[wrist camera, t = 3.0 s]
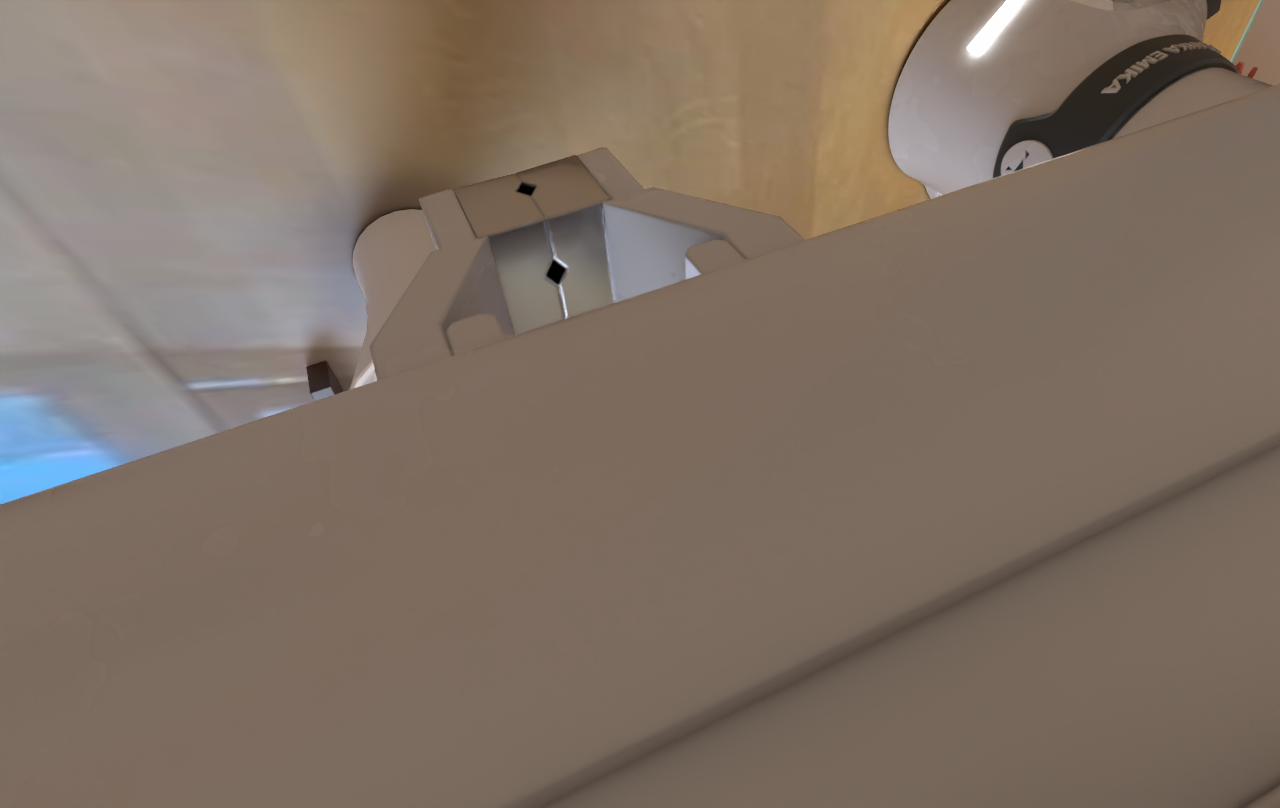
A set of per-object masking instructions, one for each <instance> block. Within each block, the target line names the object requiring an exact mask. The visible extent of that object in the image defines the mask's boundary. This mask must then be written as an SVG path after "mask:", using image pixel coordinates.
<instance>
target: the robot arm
mask: <svg viewBox="0 0 1280 808" xmlns="http://www.w3.org/2000/svg"><path fill="white" fill-rule="evenodd" d="M1220 4H1221V0H950V1H949V2H948V3H947V5H946V6H945V7H944V8H943V9H942V10H941V11H940V12H939V13H938V15H937V16H936V17H935V18H934V19H933V21H932V22H931V23H930V25H929V26H928V27H927V29H926V30H925V31H924V33H923V34H922V36H921V37H920V39H919V40H918V42H917V44H916V45H915V47H914V49H913V50H912V52H911V54H910V56H909V58H908V60H907V62H906V64H905V66H904V68H903V70H902V73H901V75H900V77H899V80H898V83H897V86H896V89H895V92H894V95H893V99H892V103H891V108H890V114H889V122H888V138H889V145H890V150H891V153H892V156H893V159H894V161H895V162H896V164H897V166H898V167H899V168H900V169H901V170H902V171H903V172H904V173H905V174H906V175H908V176H909V177H911V178H913V179H915V180H918V181H919V182H921V183H922V184H923V185H925V188H926V190H927V193H928V195H929V197H930V199H929V200H926V201H923V202H920V203H917V204H914V205H911V206H908V207H905V208H902V209H899V210H896V211H893V212H889V213H886V214H883V215H880V216H877V217H874V218H871V219H868V220H865V221H862V222H859V223H856V224H853V225H850V226H847V227H844V228H841V229H838V230H835V231H832V232H829V233H826V234H823V235H820V236H817V237H813V238H810V239H807V240H805V239H804V238H803V237H802V236H801V235H800V234H798V233H797V232H796V231H795V230H794V229H793V228H792V227H791V226H790V225H788V224H787V223H786V222H785V221H784V220H783V219H782V218H781V217H778V216H774V215H770V214H765V213H761V212H757V211H753V210H748V209H744V208H740V207H736V206H731V205H727V204H723V203H719V202H714V201H710V200H706V199H701V198H697V197H693V196H689V195H684V194H680V193H676V192H672V191H667V190H663V189H659V188H654V187H652V188H649V189H644V188H643V187H642V186H641V185H640V184H639V183H638V182H637V181H636V179H635V178H634V177H633V176H632V175H631V174H630V173H629V172H628V171H627V170H626V168H625V167H624V166H623V165H622V164H621V163H620V162H619V161H618V160H617V159H616V157H615V156H614V155H613V154H612V153H611V152H610V151H609V150H608V149H607V148H604V147H601V148H598V149H595V150H592V151H589V152H586V153H583V154H580V155H577V156H576V155H573V156H570V157H567V158H564V159H560V160H557V161H554V162H550V163H547V164H544V165H540V166H537V167H534V168H530V169H527V170H524V171H520V172H517V173H514V174H510V175H506V176H502V177H498V178H494V179H490V180H486V181H482V182H479V183H475V184H471V185H467V186H463V187H459V188H455V189H452V190H451V189H448V190H444V191H441V192H438V193H435V194H431V195H428V196H425V197H422V198H419V202H420V205H421V208H422V211H423V214H424V217H425V220H426V223H427V226H428V229H429V232H430V235H431V238H432V241H433V244H434V247H435V250H436V251H433V252H431V253H430V254H429V256H428V257H427V259H426V260H425V262H424V263H423V265H422V267H421V268H420V270H419V271H418V273H417V274H416V276H415V277H414V279H413V280H412V282H411V283H410V285H409V286H408V288H407V290H406V291H405V293H404V294H403V296H402V297H401V299H400V300H399V302H398V303H397V305H396V306H395V308H394V309H393V311H392V313H391V314H390V316H389V317H388V319H387V320H386V322H385V323H384V325H383V326H382V328H381V329H380V331H379V332H378V334H377V336H376V337H375V339H374V340H373V342H372V343H371V345H370V346H369V347H370V351H371V355H372V360H373V364H374V369H375V373H376V377H377V381H375V382H372V383H369V384H366V385H363V386H360V387H357V388H353V389H350V390H347V391H344V392H341V393H338V394H335V395H332V396H329V397H326V398H323V399H320V400H317V401H314V402H311V403H308V404H305V405H302V406H299V407H296V408H293V409H290V410H287V411H283V412H280V413H277V414H274V415H271V416H268V417H265V418H262V419H259V420H256V421H253V422H250V423H247V424H244V425H241V426H238V427H235V428H232V429H229V430H226V431H223V432H220V433H217V434H214V435H211V436H208V437H205V438H202V439H199V440H196V441H193V442H189V443H186V444H183V445H180V446H177V447H174V448H171V449H168V450H165V451H162V452H159V453H156V454H153V455H150V456H147V457H144V458H141V459H138V460H135V461H132V462H129V463H126V464H123V465H120V466H117V467H114V468H111V469H108V470H105V471H102V472H98V473H95V474H92V475H89V476H86V477H83V478H80V479H77V480H74V481H71V482H68V483H65V484H62V485H59V486H56V487H53V488H50V489H47V490H44V491H41V492H38V493H35V494H32V495H28V496H25V497H22V498H19V499H16V500H13V501H10V502H7V503H4V504H1V505H0V808H1280V84H1278V85H1274V86H1273V85H1270V84H1267V83H1264V82H1261V81H1258V80H1255V79H1252V78H1253V76H1254V75H1255V73H1256V71H1257V69H1258V68H1257V67H1254V68H1253V69H1252V70H1251V71H1250V73H1249V74H1248V76H1244V75H1241V73H1242V69H1243V65H1244V63H1243V62H1239V63H1238V64H1237V65H1236V66H1235V65H1234V64H1233V63H1231V62H1230V61H1229V60H1227V59H1226V58H1225V57H1223V56H1222V55H1220V53H1221V52H1220V51H1219V50H1217V49H1216V48H1214V47H1213V46H1211V45H1208V44H1206V43H1203V38H1204V32H1205V27H1206V20H1208V19H1209V18H1210V17H1211V16H1213V15H1214V14H1215V13H1217V12H1218V11H1219V10H1220Z"/></svg>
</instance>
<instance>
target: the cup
mask: <svg viewBox="0 0 1280 808" xmlns="http://www.w3.org/2000/svg"><path fill="white" fill-rule="evenodd" d="M433 251H436V250H435V247H434V244H433V241H432V238H431V235H430V232H429V229H428V226H427V223H426V220H425V217H424V214H423V211H422V210H415V209H408V210H401V211H395V212H392V213H390V214H387V215H385V216H382V217H380V218H378V219H377V220H376V221H374V222H373V223H372V224H370V225H369V226H368V227H367V228H366V229H365V230H364V232H363V233H362V234H361V235H360V237H359V238H358V240H357V243H356V245H355V248H354V251H353V268H354V272H355V276H356V278H357V281H358V283H359V285H360V287H361V290H362V292H363V294H364V296H365V303H366V310H367V332H366V336H365V339H364V343H363V346H362V350H361V354H360V357H359V361H358V364H357V368H356V371H355V374H354V377H353V380H352V383H351V386H350V389H353V388H357V387H360V386H363V385H366V384H369V383H372V382H375V381H377V377H376V373H375V369H374V364H373V360H372V355H371V351H370V347H369V346H370V345H371V343H372V342H373V340H374V339H375V337H376V336H377V334H378V332H379V331H380V329H381V328H382V326H383V325H384V323H385V322H386V320H387V319H388V317H389V316H390V314H391V313H392V311H393V309H394V308H395V306H396V305H397V303H398V302H399V300H400V299H401V297H402V296H403V294H404V293H405V291H406V290H407V288H408V286H409V285H410V283H411V282H412V280H413V279H414V277H415V276H416V274H417V273H418V271H419V270H420V268H421V267H422V265H423V263H424V262H425V260H426V259H427V257H428V256H429V254H430V253H431V252H433ZM350 389H349V390H350Z"/></svg>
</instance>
